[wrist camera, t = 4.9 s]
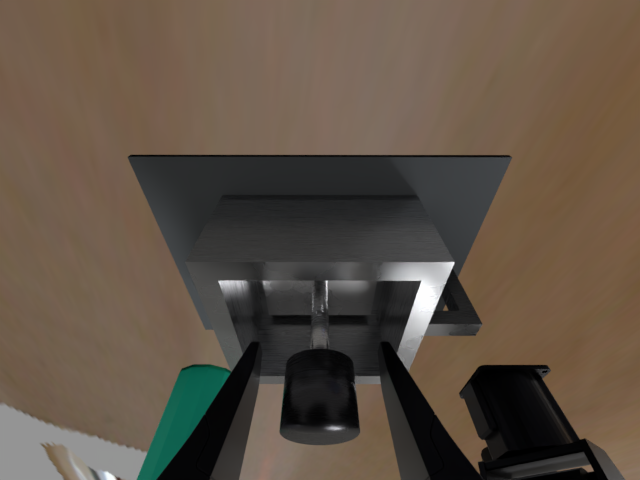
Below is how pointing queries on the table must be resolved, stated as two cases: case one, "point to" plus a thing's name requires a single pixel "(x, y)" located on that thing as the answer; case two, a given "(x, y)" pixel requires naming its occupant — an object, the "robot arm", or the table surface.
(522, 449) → the robot arm
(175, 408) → the candle
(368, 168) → the slate mat
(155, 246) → the table surface
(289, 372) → the plunger
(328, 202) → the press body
